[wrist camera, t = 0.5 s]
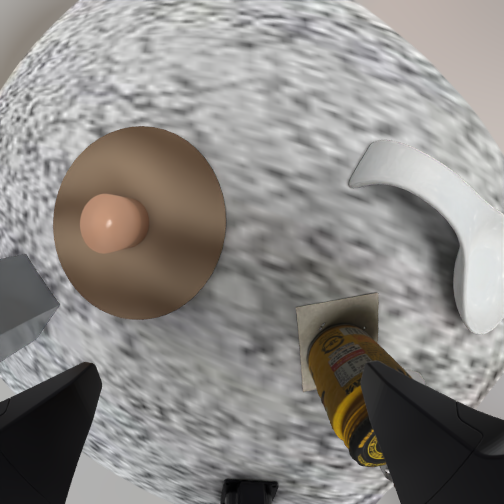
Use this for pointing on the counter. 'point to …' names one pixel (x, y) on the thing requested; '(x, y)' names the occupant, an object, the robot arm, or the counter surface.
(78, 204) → the plate
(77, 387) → the robot arm
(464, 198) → the white curved piece
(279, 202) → the counter surface
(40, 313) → the grey tall block
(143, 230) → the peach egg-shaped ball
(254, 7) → the counter surface
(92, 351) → the counter surface
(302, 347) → the condiment
